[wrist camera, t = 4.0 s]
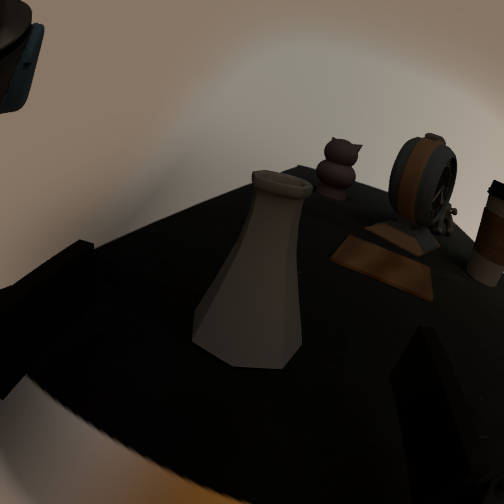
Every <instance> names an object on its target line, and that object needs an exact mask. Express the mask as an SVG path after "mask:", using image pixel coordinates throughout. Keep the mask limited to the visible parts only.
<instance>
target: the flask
mask: <svg viewBox="0 0 504 504" xmlns="http://www.w3.org/2000/svg"><path fill="white" fill-rule="evenodd" d="M252 182H253V185H254V187H255V189H254V195H253V199H252V204H251V208H250V211H249V214H248V216H247V219H246V221H245V224H244V226H243V229H242V231H241V234H240V236H239V239H238V240H237V242H236V244H235V246H234V247H233V249H232V251H231V252H230V254H229V256H228V258H227V259H226V261H225V263H224V264H223V266H222V268H221V270H220V271H219V273H218V275H217V276H216V278H215V279H214V281H213V283H212V284H211V286H210V287H209V289H208V291H207V292H206V294H205V295H204V297H203V298H202V300H201V302H200V303H199V305H198V307H197V308H196V310H195V312H194V322H193V334H192V342H194V343H195V344H197V345H198V346H200V347H202V348H203V349H205V350H206V351H208V352H210V353H211V354H213V355H215V356H216V357H218V358H219V359H221V360H223V361H224V362H226V363H228V364H229V365H231V366H237V367H252V368H270V369H283V367H284V366H285V365H286V364H287V362H288V361H289V360H290V359H291V357H292V356H293V355H294V354H295V352H296V351H297V350H298V349H299V347H300V346H301V345H302V334H301V321H300V309H299V298H298V279H297V262H296V248H297V236H298V224H299V219H300V215H301V210H302V206H303V203H304V200H305V198H306V197H309V196H310V195H311V193H312V191H313V186H312V185H311V184H310V183H309V182H308V181H306V180H304V179H300V178H297V177H294V176H291V175H288V174H284V173H278V172H273V171H268V170H261V171H254V172H253V173H252Z"/></svg>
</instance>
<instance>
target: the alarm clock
mask: <svg viewBox="0 0 504 504" xmlns="http://www.w3.org/2000/svg"><path fill="white" fill-rule="evenodd" d="M456 174H457V160H456V155H455V154H454V152H453V151H452V150H451V149H450V148H449V147H448V146H446V143H445V140H444V139H443V137H441V136H438V135H435V134H432V133H427V134H425V137H424V138H420V137H416V138H413V139H411V140H408V141H407V142H406V143H405V144H404V145H403V147H402V148H401V150H400V152H399V153H398V155H397V158H396V160H395V163H394V165H393V168H392V171H391V175H390V180H389V190H388V193H389V201H390V204H391V206H392V208H393V209H394V211H395V212H396V213H397V214H399V217H398V219H392V220H388V221H383V222H379V223H375V224H373V226H370V227H365V229H366V230H368V231H370V232H372V233H374V234H376V235H378V236H380V237H382V238H383V239H385V240H387V241H389V242H391V243H393V244H395V245H397V246H399V247H400V248H402V249H404V250H406V251H408V252H410V253H411V254H413V255H415V256H417V257H419V256H421V255H424V254H426V253H428V252H430V251H432V250H434V249H436V248H439V247H440V244H439V243H438V242H437V241H436V239H435V238H434V237H433V236H432V234H431V232H430V230H429V228H427V227H425V226H430V225H433V224H435V223H436V222H437V221H438V220H439V218H440V217H441V216H442V214H443V213H444V211H445V209H446V207H447V205H448V202H449V200H450V197H451V194H452V192H453V188H454V184H455V180H456Z"/></svg>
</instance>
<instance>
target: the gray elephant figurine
mask: <svg viewBox="0 0 504 504" xmlns="http://www.w3.org/2000/svg"><path fill="white" fill-rule="evenodd" d="M451 210H452V211H451ZM451 214H453V215H457V209H456V208H451V204H450V203H449V202H448V205H447V207H446V209H445V211H444V213H443V214H442V216H441V217H440V218H439V220H438V221H437V222H436V223H435V224H434V228H433V232H434V233H435V234H436V235H441V234H442V224H443V222H444V223H445V224H446V233H447V235H448V236H450V235H451V234H452V232H453V219H452V215H451Z"/></svg>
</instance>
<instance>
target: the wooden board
mask: <svg viewBox="0 0 504 504" xmlns="http://www.w3.org/2000/svg"><path fill="white" fill-rule="evenodd" d="M330 261H332V262H334V263H337V264H339V265H342V266H344V267H347V268H349V269H352V270H354V271H356V272H359V273H361V274H364V275H366V276H369V277H371V278H374V279H376V280H378V281H381V282H383V283H386V284H388V285H391V286H393V287H395V288H398V289H400V290H403V291H405V292H407V293H410V294H412V295H415V296H417V297H419V298H422V299H424V300H426V301H429V302H432V300H433V295H432V281H431V270H430V267H428V266H426V265H423V264H421V263H419V262H416V261H414V260H411V259H409V258H406V257H404V256H402V255H399V254H397V253H394V252H392V251H389V250H387V249H384V248H382V247H379V246H377V245H374V244H372V243H369V242H367V241H364V240H361V239H359V238H356V237H354V236H351V235H349V236H348V237H347V238H346V240H345V241H344V242H343V243H342V244H341V246H340V247H339V248H338V249H337V250H336V252H335V253H334V254H333V255H332V256H331V257H330Z"/></svg>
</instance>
